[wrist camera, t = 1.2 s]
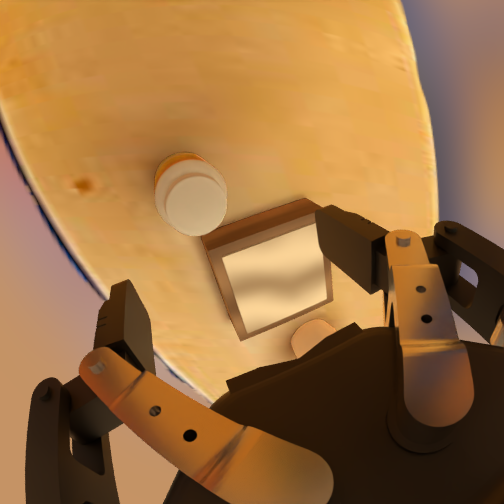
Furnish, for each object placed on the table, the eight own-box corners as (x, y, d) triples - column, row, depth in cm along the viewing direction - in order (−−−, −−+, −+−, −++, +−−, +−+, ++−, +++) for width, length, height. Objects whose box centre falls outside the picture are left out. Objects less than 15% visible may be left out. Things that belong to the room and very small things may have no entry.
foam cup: (328, 351, 45) (372, 407, 34) (277, 364, 42) (316, 430, 31) (342, 304, 41) (397, 362, 30) (286, 316, 38) (336, 386, 27)
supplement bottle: (220, 169, 27) (254, 192, 19) (191, 215, 28) (210, 259, 20) (173, 140, 24) (184, 149, 16) (143, 190, 25) (140, 224, 17)
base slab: (200, 234, 29) (208, 252, 25) (305, 197, 31) (326, 209, 28) (230, 320, 35) (241, 342, 31) (317, 284, 37) (334, 301, 34)
